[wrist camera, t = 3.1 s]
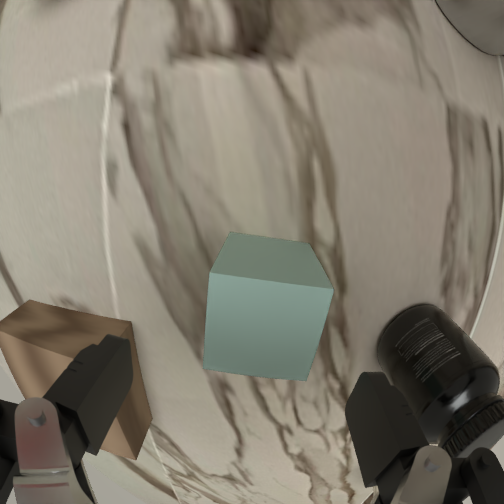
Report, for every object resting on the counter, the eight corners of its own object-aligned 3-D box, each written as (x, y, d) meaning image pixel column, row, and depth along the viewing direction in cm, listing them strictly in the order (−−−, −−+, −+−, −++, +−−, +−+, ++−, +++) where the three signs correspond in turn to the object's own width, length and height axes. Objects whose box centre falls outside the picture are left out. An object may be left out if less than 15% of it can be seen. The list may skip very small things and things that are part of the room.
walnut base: (132, 319, 20) (98, 365, 15) (153, 416, 24) (136, 460, 18) (31, 298, 21) (-8, 327, 15) (62, 389, 24) (38, 421, 18)
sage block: (308, 243, 18) (333, 289, 11) (294, 312, 19) (306, 381, 12) (230, 231, 18) (209, 272, 11) (222, 302, 19) (203, 368, 12)
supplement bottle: (370, 376, 21) (414, 493, 9) (380, 308, 19) (460, 431, 7) (435, 361, 20) (495, 454, 9) (452, 295, 18) (543, 383, 7)
